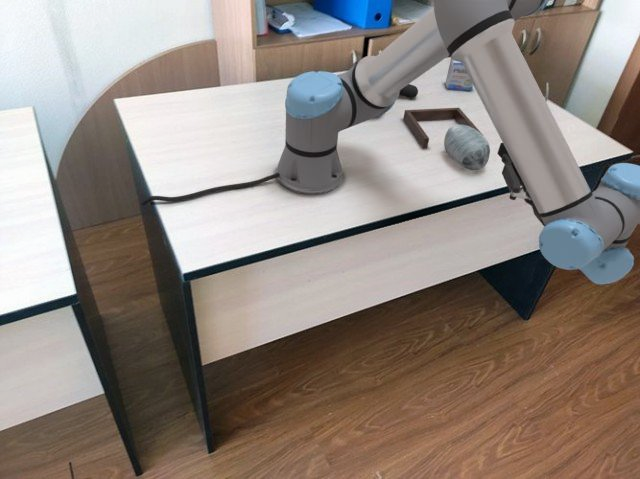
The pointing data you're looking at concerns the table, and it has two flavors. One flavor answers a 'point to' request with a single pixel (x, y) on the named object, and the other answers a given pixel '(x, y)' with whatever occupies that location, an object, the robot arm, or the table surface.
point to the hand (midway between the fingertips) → (502, 148)
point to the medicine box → (458, 77)
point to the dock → (433, 114)
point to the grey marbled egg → (467, 147)
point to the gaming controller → (409, 91)
